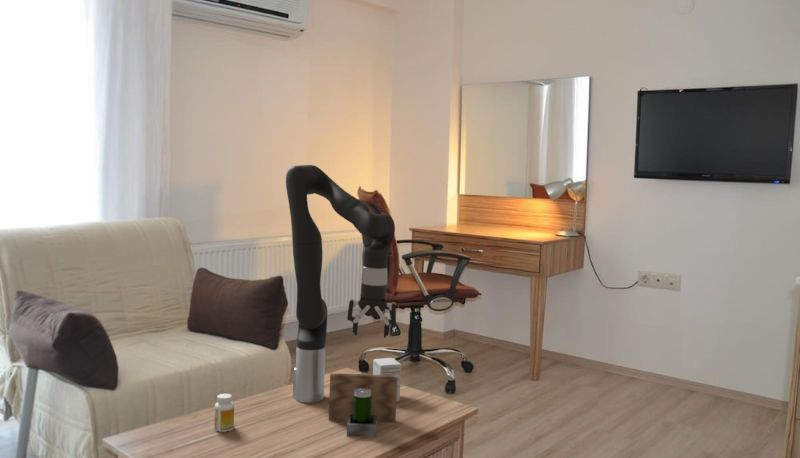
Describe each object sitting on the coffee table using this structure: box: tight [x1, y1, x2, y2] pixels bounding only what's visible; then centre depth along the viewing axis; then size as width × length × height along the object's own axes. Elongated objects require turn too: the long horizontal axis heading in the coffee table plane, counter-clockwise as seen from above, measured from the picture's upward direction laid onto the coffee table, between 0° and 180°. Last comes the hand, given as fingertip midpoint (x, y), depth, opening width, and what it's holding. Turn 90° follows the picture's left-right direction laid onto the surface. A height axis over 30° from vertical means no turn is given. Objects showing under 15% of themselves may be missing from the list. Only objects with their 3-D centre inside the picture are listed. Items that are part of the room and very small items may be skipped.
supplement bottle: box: [213, 393, 235, 433], centre depth 196 cm, size 5×5×10 cm
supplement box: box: [372, 357, 402, 402], centre depth 225 cm, size 7×7×13 cm
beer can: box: [352, 388, 372, 424], centre depth 198 cm, size 5×5×12 cm
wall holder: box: [328, 372, 398, 438], centre depth 200 cm, size 20×13×14 cm, turn 92°
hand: (370, 335), depth 203 cm, fingers open, 8 cm apart
